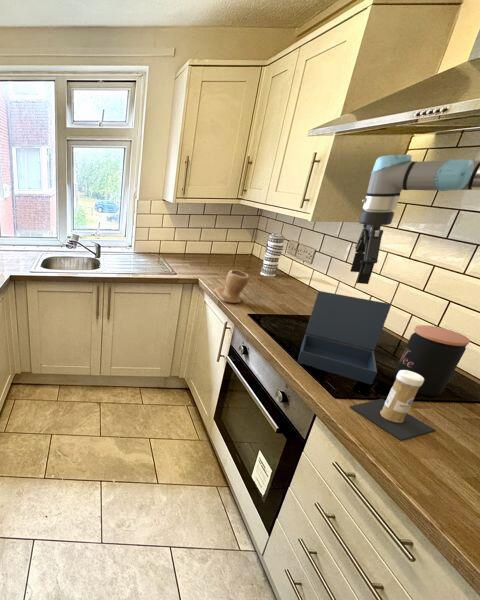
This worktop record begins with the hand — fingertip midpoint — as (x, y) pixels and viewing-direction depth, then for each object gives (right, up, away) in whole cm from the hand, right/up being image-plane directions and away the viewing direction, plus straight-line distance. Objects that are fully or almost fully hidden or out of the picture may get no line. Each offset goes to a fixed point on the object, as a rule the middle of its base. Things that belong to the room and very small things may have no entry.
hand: (358, 277), depth 103 cm
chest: (-6, -29, +3) cm, 30 cm away
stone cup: (-16, -7, +56) cm, 59 cm away
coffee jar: (+10, -34, -8) cm, 36 cm away
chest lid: (-1, -14, +5) cm, 15 cm away
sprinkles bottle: (-10, -38, -21) cm, 45 cm away
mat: (-10, -39, -21) cm, 45 cm away
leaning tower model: (+27, +9, +95) cm, 99 cm away
